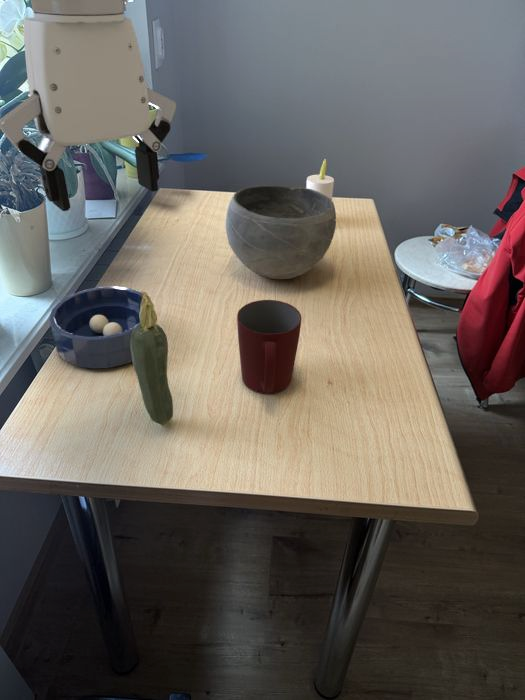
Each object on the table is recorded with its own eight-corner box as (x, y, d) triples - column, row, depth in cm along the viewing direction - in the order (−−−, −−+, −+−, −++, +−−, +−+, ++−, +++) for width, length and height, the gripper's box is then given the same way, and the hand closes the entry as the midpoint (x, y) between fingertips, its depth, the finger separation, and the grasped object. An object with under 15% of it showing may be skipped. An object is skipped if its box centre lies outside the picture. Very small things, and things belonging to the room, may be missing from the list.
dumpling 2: (124, 321, 84) (123, 328, 87) (105, 317, 83) (104, 325, 86) (121, 338, 83) (120, 345, 85) (101, 335, 82) (101, 342, 85)
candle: (298, 219, 130) (302, 157, 121) (320, 215, 132) (326, 153, 124) (311, 229, 125) (317, 164, 117) (334, 224, 128) (341, 161, 119)
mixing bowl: (65, 382, 77) (57, 349, 74) (50, 328, 89) (43, 297, 85) (168, 357, 83) (165, 325, 80) (142, 309, 94) (138, 279, 91)
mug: (299, 413, 74) (305, 348, 67) (236, 412, 73) (235, 347, 67) (294, 360, 83) (299, 300, 77) (237, 360, 83) (237, 299, 76)
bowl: (342, 293, 101) (352, 218, 92) (232, 299, 98) (231, 222, 89) (316, 246, 118) (322, 178, 109) (221, 250, 115) (220, 181, 106)
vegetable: (172, 439, 69) (158, 307, 57) (139, 437, 69) (118, 306, 57) (177, 415, 72) (165, 287, 61) (146, 414, 72) (128, 286, 61)
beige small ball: (99, 337, 87) (103, 335, 85) (84, 326, 86) (87, 324, 84) (109, 323, 88) (114, 321, 86) (94, 312, 87) (98, 309, 85)
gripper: (146, -4, 52) (161, 172, 62) (-45, -3, 43) (9, 203, 53) (188, 1, 47) (196, 191, 57) (-17, 3, 38) (36, 228, 48)
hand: (106, 196), depth 55 cm, fingers open, 9 cm apart
